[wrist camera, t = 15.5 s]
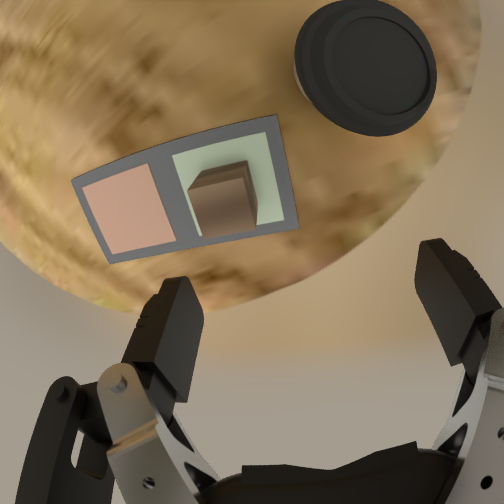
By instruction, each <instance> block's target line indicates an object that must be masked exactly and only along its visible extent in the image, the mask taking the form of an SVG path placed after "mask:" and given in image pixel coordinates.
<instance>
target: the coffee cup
mask: <svg viewBox="0 0 504 504" xmlns="http://www.w3.org/2000/svg"><path fill="white" fill-rule="evenodd" d="M294 76H295V80H296V83H297V85H298V88H299V89H300V91H301V93H302V94H303V95H304V96H305V98H306V99H307V100H308V101H309V102H311V103H312V104H313V105H314V106H315V107H316V109H317V110H318V111H319V112H320V113H322V114H323V115H324V116H325V117H326V118H327V119H329V120H330V121H332V122H333V123H335V124H336V125H338V126H340V127H342V128H344V129H346V130H349V131H352V132H355V133H358V134H362V135H367V136H376V137H380V136H389V135H394V134H397V133H400V132H402V131H404V130H406V129H408V128H410V127H411V126H413V125H414V124H415V123H416V122H418V121H419V120H420V119H421V118H422V116H423V115H424V114H425V113H426V111H427V110H428V108H429V106H430V104H431V102H432V99H433V97H434V93H435V89H436V82H437V70H436V63H435V58H434V55H433V52H432V49H431V47H430V44H429V42H428V40H427V39H426V37H425V35H424V34H423V32H422V31H421V29H420V28H419V27H418V26H417V25H416V24H415V23H414V21H413V20H411V19H410V18H409V17H408V16H407V15H406V14H404V13H403V12H402V11H400V10H398V9H397V8H395V7H393V6H391V5H389V4H387V3H384V2H381V1H378V0H341V1H336V2H333V3H330V4H328V5H325V6H323V7H322V8H320V9H318V10H317V11H316V12H314V13H313V14H312V15H311V16H310V17H309V18H308V19H307V20H306V22H305V23H304V24H303V26H302V28H301V30H300V32H299V34H298V37H297V40H296V45H295V55H294Z"/></svg>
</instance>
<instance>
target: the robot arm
mask: <svg viewBox="0 0 504 504" xmlns="http://www.w3.org/2000/svg"><path fill="white" fill-rule="evenodd" d="M414 280H415V288H416V292H417V294H418V296H419V298H420V300H421V302H422V304H423V306H424V308H425V310H426V312H427V314H428V316H429V318H430V320H431V322H432V324H433V327H434V329H435V330H436V333H437V335H438V337H439V339H440V342H441V344H442V346H443V348H444V351H445V353H446V356H447V358H448V361H449V363H450V365H451V366H454V365H457V364H460V363H463V365H464V370H463V372H462V374H461V378H460V382H459V385H458V388H457V392H456V395H455V398H454V401H453V404H452V407H451V410H450V413H449V416H448V418H447V421H446V423H445V425H444V427H443V428H442V430H441V431H440V433H439V435H438V436H437V438H436V440H435V442H434V444H433V446H432V449H421V448H420V449H418V448H417V443H416V441H414V442H411V443H407V444H404V445H400V446H396V447H393V448H389V449H385V450H381V451H377V452H374V453H372V454H370V455H367V456H366V457H363V458H361V459H359V460H356V461H354V462H352V463H350V464H347V465H344V466H342V467H339V468H337V469H333V470H324V469H314V468H306V467H299V466H292V465H286V464H283V465H243V466H242V473H239V474H235V475H232V476H229V477H226V478H224V479H222V480H221V479H220V478H219V476H218V475H217V474H216V472H215V471H214V470H213V468H212V467H211V466H210V465H209V464H208V463H207V462H206V461H205V459H204V458H203V457H202V456H201V455H200V453H199V452H198V450H197V449H196V447H195V446H194V444H193V442H192V441H191V439H190V437H189V436H188V434H187V433H186V431H185V429H184V428H183V426H182V424H181V422H180V421H179V419H178V417H177V416H176V414H175V412H174V411H173V409H174V404H175V402H181V403H187V400H188V395H189V390H190V385H191V381H192V376H193V371H194V366H195V361H196V357H197V352H198V347H199V342H200V338H201V333H202V329H203V324H204V315H203V310H202V307H201V305H200V303H199V300H198V298H197V296H196V294H195V291H194V289H193V287H192V284H191V282H190V280H189V278H188V277H187V276H182V277H174V278H167V279H165V280H164V281H163V283H162V286H161V288H160V290H159V293H158V294H154V295H153V296H152V297H151V298H150V300H149V301H148V302H147V303H146V304H145V305H144V308H143V310H142V312H141V315H140V319H138V322H137V324H136V328H135V329H134V331H133V334H132V336H131V338H130V341H129V343H128V346H127V348H126V351H125V353H124V356H123V358H122V361H121V363H118V364H115V365H112V366H111V367H109V368H108V369H106V370H105V371H104V372H103V373H102V375H101V376H100V379H99V381H97V382H94V383H89V384H85V385H79V384H78V383H77V382H76V381H75V380H74V379H73V378H72V377H69V376H65V377H61V378H59V379H57V380H56V381H55V382H54V383H53V384H52V385H51V386H50V388H49V390H48V393H47V395H46V397H45V400H44V403H43V406H42V408H41V411H40V414H39V417H38V419H37V422H36V425H35V428H34V431H33V434H32V437H31V440H30V444H29V447H28V450H27V454H26V457H25V461H24V465H23V469H22V473H21V477H20V481H19V486H18V491H17V495H16V501H15V504H111V499H112V493H113V486H114V481H115V479H116V482H117V484H118V486H119V489H120V491H121V493H122V496H123V498H124V500H125V502H126V504H504V308H502V306H501V305H500V303H499V302H498V300H497V299H496V297H495V296H494V294H493V293H492V291H491V290H490V289H489V287H488V286H487V284H486V283H485V282H484V280H483V279H482V278H480V275H479V274H478V272H477V271H476V270H474V267H473V266H472V264H471V263H470V262H469V261H468V259H467V258H466V257H464V256H463V255H461V254H460V253H458V252H457V251H455V250H453V251H452V250H451V248H450V247H449V246H448V245H447V243H446V242H445V241H444V240H443V239H442V238H437V239H431V240H426V241H422V242H421V243H420V245H419V252H418V259H417V265H416V271H415V279H414ZM78 430H79V431H80V432H82V433H84V438H83V441H82V446H81V449H80V454H79V457H78V461H77V466H76V468H74V466H73V465H72V463H71V454H72V450H73V446H74V442H75V438H76V435H77V431H78Z"/></svg>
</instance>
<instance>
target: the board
mask: <svg viewBox="0 0 504 504" xmlns="http://www.w3.org/2000/svg"><path fill="white" fill-rule="evenodd" d="M245 160H247V161H248V165H249V169H250V173H251V177H252V181H253V185H254V189H255V193H256V197H257V201H258V212H257V226H256V230H251V231H246V232H241V233H235V234H230V235H225V236H220V237H214V238H209V239H203V236H202V233H201V230H200V228H199V225H198V222H197V219H196V216H195V213H194V210H193V208H192V205H191V202H190V199H189V196H188V193H187V190H188V188H189V187H190V185H191V184H192V183H193V181H194V180H195V178H196V177H197V176H198V174H199V173H200V172H201V171H203V170H207V169H211V168H215V167H219V166H223V165H227V164H232V163H236V162H241V161H245ZM71 182H72V185H73V187H74V190H75V192H76V194H77V197H78V199H79V201H80V204H81V206H82V208H83V211H84V213H85V215H86V217H87V220H88V222H89V224H90V226H91V228H92V230H93V232H94V234H95V237H96V239H97V241H98V243H99V245H100V247H101V249H102V251H103V253H104V254H105V256H106V258H107V260H108V262H109V264H114V263H119V262H124V261H129V260H134V259H139V258H144V257H149V256H154V255H159V254H164V253H169V252H175V251H180V250H185V249H190V248H196V247H201V246H206V245H212V244H217V243H222V242H228V241H233V240H239V239H244V238H250V237H255V236H261V235H266V234H272V233H277V232H283V231H289V230H294V229H299V223H298V218H297V212H296V206H295V201H294V196H293V190H292V185H291V180H290V175H289V170H288V165H287V160H286V155H285V150H284V146H283V141H282V136H281V132H280V127H279V123H278V118H277V115H271V116H266V117H261V118H256V119H252V120H247V121H243V122H238V123H234V124H230V125H226V126H222V127H218V128H214V129H210V130H207V131H203V132H200V133H196V134H193V135H189V136H186V137H182V138H179V139H176V140H173V141H170V142H166V143H163V144H160V145H157V146H154V147H151V148H149V149H146V150H143V151H140V152H137V153H135V154H132V155H129V156H127V157H124V158H121V159H119V160H116V161H114V162H111V163H109V164H106V165H104V166H101V167H99V168H97V169H94V170H92V171H90V172H87V173H85V174H83V175H81V176H78V177H76V178H74V179H72V180H71Z"/></svg>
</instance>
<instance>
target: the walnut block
mask: <svg viewBox="0 0 504 504" xmlns="http://www.w3.org/2000/svg"><path fill="white" fill-rule="evenodd" d="M187 193H188V196H189V199H190V202H191V205H192V208H193V210H194V213H195V216H196V219H197V222H198V225H199V228H200V230H201V233H202V236H203V239H209V238H214V237H220V236H225V235H230V234H235V233H241V232H246V231H251V230H256V226H257V212H258V201H257V197H256V193H255V189H254V185H253V181H252V177H251V173H250V169H249V165H248V161H247V160H245V161H241V162H236V163H232V164H227V165H223V166H219V167H215V168H211V169H207V170H203V171H201V172H200V173H199V174H198V176H197V177H196V178H195V180H194V181H193V183H192V184H191V185H190V187H189V188H188V190H187Z"/></svg>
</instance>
